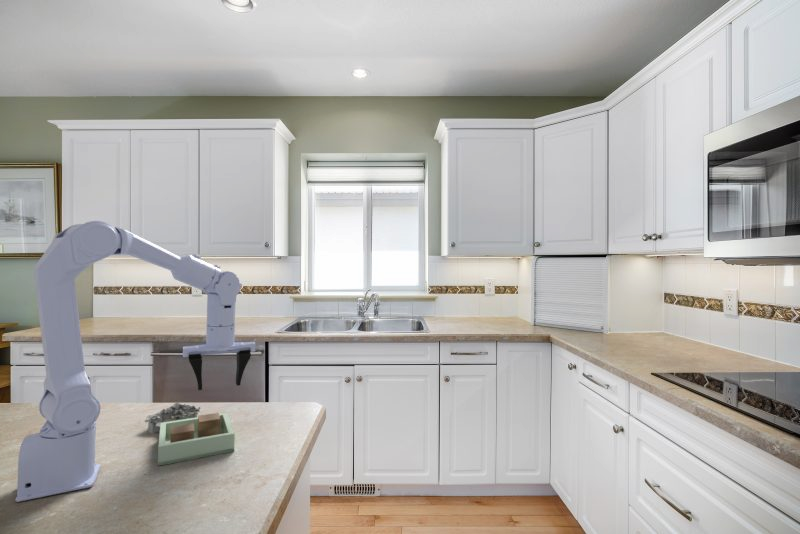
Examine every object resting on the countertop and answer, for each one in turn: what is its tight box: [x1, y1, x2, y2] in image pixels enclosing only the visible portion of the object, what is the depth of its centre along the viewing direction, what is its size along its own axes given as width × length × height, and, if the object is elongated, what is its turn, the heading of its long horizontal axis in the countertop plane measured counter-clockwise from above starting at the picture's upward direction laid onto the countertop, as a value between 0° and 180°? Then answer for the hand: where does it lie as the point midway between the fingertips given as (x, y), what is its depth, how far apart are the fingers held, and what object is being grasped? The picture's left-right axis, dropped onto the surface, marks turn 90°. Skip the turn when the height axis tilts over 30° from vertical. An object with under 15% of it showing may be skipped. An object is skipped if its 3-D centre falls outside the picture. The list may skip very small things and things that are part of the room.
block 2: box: [197, 412, 220, 438], centre depth 84 cm, size 4×4×4 cm
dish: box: [157, 412, 235, 467], centre depth 81 cm, size 13×13×4 cm
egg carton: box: [144, 402, 201, 434], centre depth 91 cm, size 11×8×4 cm
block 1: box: [170, 424, 194, 443], centre depth 78 cm, size 4×4×4 cm
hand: (219, 386), depth 87 cm, fingers open, 7 cm apart
